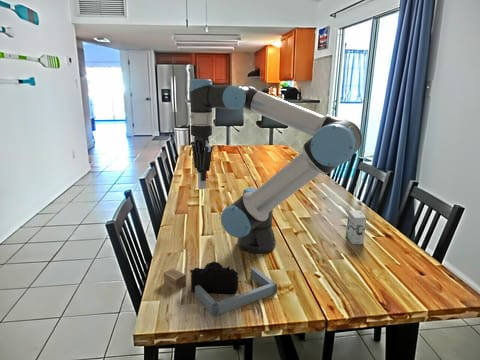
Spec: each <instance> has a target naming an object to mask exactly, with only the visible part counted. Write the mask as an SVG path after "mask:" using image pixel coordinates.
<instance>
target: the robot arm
mask: <svg viewBox="0 0 480 360" xmlns="http://www.w3.org/2000/svg"><path fill="white" fill-rule="evenodd" d="M189 85H190V86H189V100H190V115H189V118H190V124H191V125H190V135H191V136H192V137H194V138H193V141H191V142H190V145H191V150H192V157H193V159H192V160H193V166H194V169H196V172H197V189H198V190H200V191H201V190H205V189H207V172H210V169H211V162H212V161H211V160H212V154H213V150H214V147H213V146H211V145H210V140H209V138H210V137H211V136H212V135H213V126H212V125H211V124H213V109H225V110H231V111H232V110H242V108H243V109H245V110H248V111H251V112H254V113H256V114H258V115H260V116H263V117H265V118H268V119H270V120H273V121H275V122H278V123H280V124H282V125H285V126H287V127H290V128H292V129H295V130H296V131H299V132H302V133H304V134H306V135H309V136H311V137H310V138H309V140H307V141H306V142H305V143H304V144H303V145H302V146H303V147H302V151H301V152H300V153H299V154H298V155H296V157H294V158H293V159H292V160H291V161H289V162H288V163H287V164H286V165H284V166H283V167H282V168H281V169H280V170H279V171H277V172H276V173H275V174H274V175H272V177H269V179H268V180H267V181H265V182H264V183H262V185H260V186H259V187H246V188H244V189H243V192H242V195H241V196H240V197H239V198H238V199H236V200H235V201H234V202H233V203H231V204H230V205H227V206H226V207H225V208H224V209H223V211H222V212H221V215H220V222H221V225H222V228H223V229H224V231H225V232H226V233H227V234H228V235H229V236H231V237H234V238H236V239H237V246H238V248H239V249H241V250H242V251H244V252H247V253H251V254H264V253H269V252H271V251H273V250H274V249H275V248H276V243H277V241H276V236H275V233H274V230H273V214H274V213H273V212H274V209H275V208H276V207H278V206H279V205H280V204H282V203H283V202H284V201H286V200H287V199H288V198H290V197H291V196H292V195H294V194H295V193H296V192H298V191H299V190H300V189H302V188H303V187H304V186H306V185H307V184H308V183H310V182H311V181H312V180H313V179H315V178H316V177H317V176H319V175H320V174H322V175H323V174H324V175H325V174H326V175H327V174H331V172H332V171H334V170H335V169H336V168H338V167H339V166H340V165H343V164H345V163H346V162H348V161H350V160H351V158H352V156H353V155H354V154H355V153H357V152H358V150H359V149H360V147H361V145H362V142H363V136H362V135H363V134H362V132H361V130H360V128H359V126H358V125H357V124H356V123H354V122H353V121H351V120H347V119H343V118H341V117H337V116H333V115H331V114H326V115H322V114H319V113H317V112H315V111H312V110H310V109H307V108H304V107H302V106H299V105H296V104H294V103H291V102H288V101H286V100H284V99H281V98H279V97H276V96H273V95H271V94H268V93H266V92H263V91H261V90H258V89H257V88H256V87H254V86H252V85H248V84H244V85H216V84H215V85H214V84H213V80H212V79H207V78H205V79H204V78H193V79H191V80H190V83H189Z"/></svg>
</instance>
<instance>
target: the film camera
mask: <svg viewBox="0 0 480 360" xmlns="http://www.w3.org/2000/svg"><path fill="white" fill-rule="evenodd" d="M189 272H190V273H191V274H190V281H191V283H190V286H191V292H192V293H194V294H195V286H197V285H200V286H201V287H202V288H203V289H204V290H205V291H206V292H207V293H208V294H209V295H228V296H230V295H237V292H238V291H239V276H238V275H239V273H238V272H237V271H236V270H235V269H233V268H230V266H227V267H223V265H222V264H221V263H219V262H218V261H217V262H216V261H212V262H209V263H207V264H205V266H204V268H200V267H195V268H194V269H190V270H189Z"/></svg>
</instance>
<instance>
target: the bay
mask: <svg viewBox="0 0 480 360" xmlns="http://www.w3.org/2000/svg"><path fill="white" fill-rule="evenodd" d="M250 277H251V278H252V279H253V280H254V281H255V282H257V283H258V284H259V285H260V286H259V287H257V288H254V289H250V290H248V291H244V292H242V293H239V294H235V296H231V297H228V298H225V299H223V300H220V301H217V302H216V301H215V300H214V299H213V297H212V296H211V294H208V293H207V292H206V291H205V290H204V289H203V288H202V287H201V286H200V285H197V286H195V293H194V295H195V297H196V298H197V299H198V300H199V301H200V302H201V304H203V306H204V307H205V308H206V309H207V311H209V312H210V314H211V315H212V316H213V317H217V316H220V315H222V314H225V313H227V312H229V311H233V310H236V309H238V308H241V307H243V306H246V305H249V304H251V303H254V302H256V301H259V300H262V299H264V298H267V297H270V296H272V295H275V294H277V292H278V291H277V290H278V283H276V282H274V281H273V280H272V279H271V278H270V277H268V276H267V275H265V274H264V273H263V272H262V271H260V270H259V269H258V268H256V266H255V267H251V268H250Z"/></svg>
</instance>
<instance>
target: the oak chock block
mask: <svg viewBox="0 0 480 360" xmlns="http://www.w3.org/2000/svg"><path fill="white" fill-rule="evenodd" d="M186 278H187V276H186V274H185V273H183V272H182V271H180V270H178V269H176V268H171V269H168V270H167V271H165V272H163V284H164V285H165V286H167V287H169V288H170V289H172V290H174V291H176V292H177V291H178V290H180V289H182V288H184V287H186V286H187V279H186Z"/></svg>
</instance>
